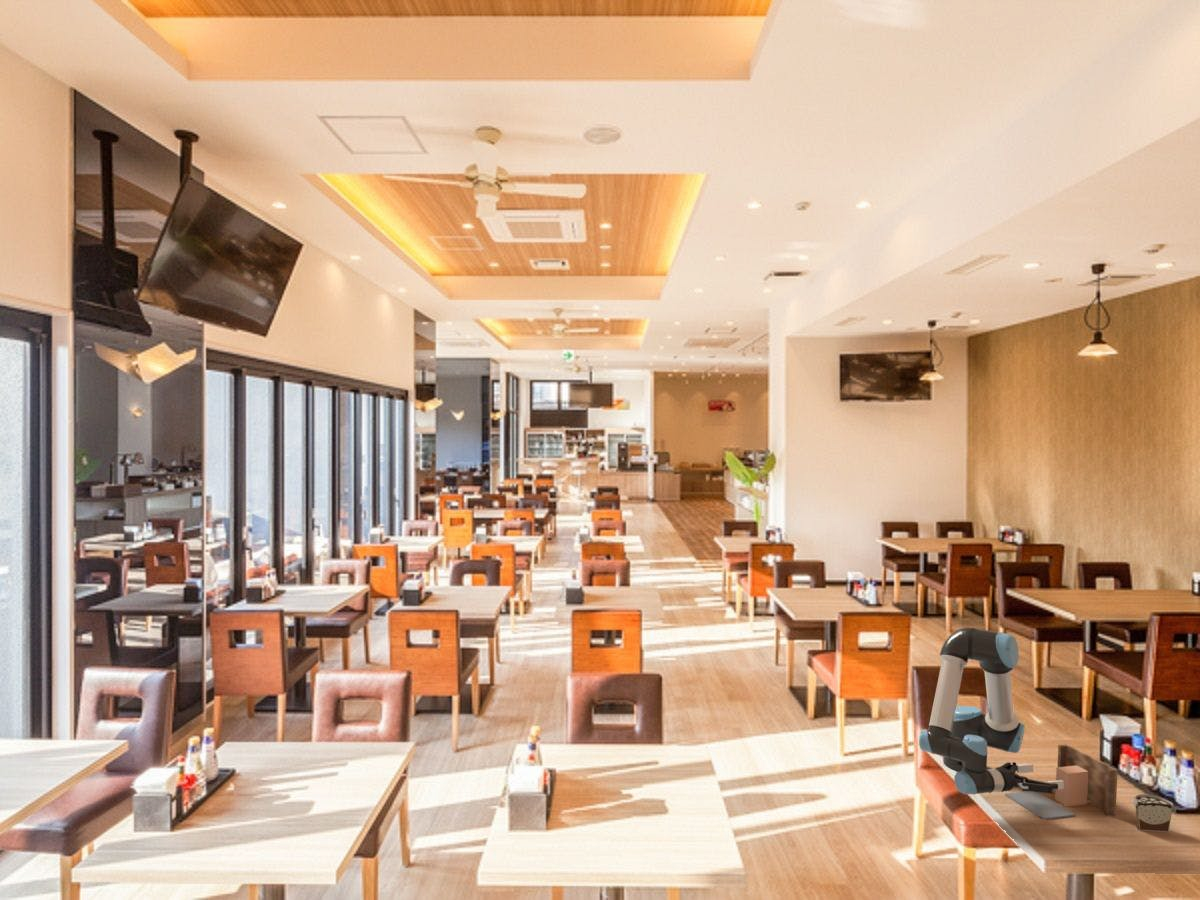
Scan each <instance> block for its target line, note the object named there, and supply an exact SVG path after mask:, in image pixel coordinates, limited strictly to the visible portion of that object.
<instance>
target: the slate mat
mask: <svg viewBox="0 0 1200 900" xmlns="http://www.w3.org/2000/svg"><path fill="white" fill-rule="evenodd" d="M1004 796H1005V797H1007V798H1009V799H1010V800H1012V801H1014V802H1015V803H1016V804H1018V805H1020V806H1021V807H1023V808H1024V809H1025V810H1027V809H1028V811H1029V812H1031V813H1032V814H1034V815H1035V814H1036V815H1035V816H1037V817H1038V818H1040V817H1041V818H1040V819H1042V820H1043V819H1047V820H1053V819H1054V818H1055V819H1061V818H1062V817H1064V818H1071V817H1075V816H1076V814H1075V813H1073V812H1071V811H1070V810H1068V809H1066V808H1065V807H1063V806H1061V805H1060V804H1058V803H1056V802H1055V801H1053V800H1051V799H1049V798H1048V797H1046V796H1045V795H1043V794H1041V792H1033V791H1018V792H1009V793H1005V794H1004ZM1062 819H1063V818H1062Z"/></svg>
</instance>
